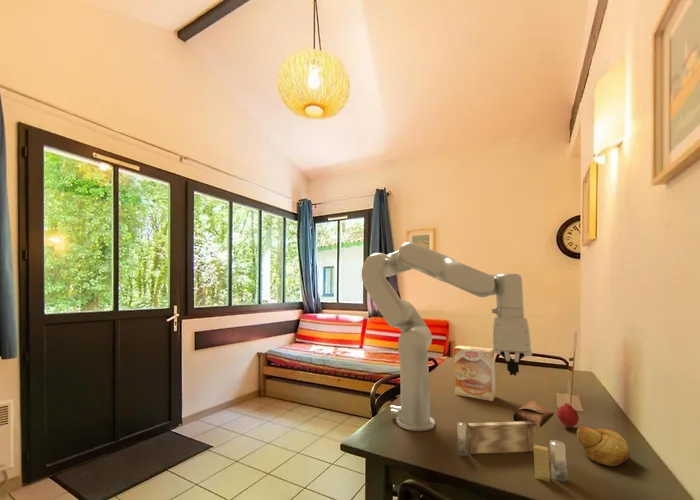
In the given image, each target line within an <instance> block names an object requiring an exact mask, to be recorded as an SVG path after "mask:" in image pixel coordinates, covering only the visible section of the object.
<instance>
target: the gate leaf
mask: <svg viewBox="0 0 700 500" xmlns="http://www.w3.org/2000/svg"><path fill="white" fill-rule="evenodd" d="M466 430H467V452H469V453H470V454H472V455H474V454H476V455H477V454H481V453H508V452H534V445H535V442H534V441H535V440H534V439H535V438H534V426H533V424H532V423H531V422H529V421H519V422H515V421H499V422H498V421H496V422H495V421H494V422H468V423H466Z"/></svg>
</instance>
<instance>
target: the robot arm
mask: <svg viewBox="0 0 700 500" xmlns="http://www.w3.org/2000/svg"><path fill="white" fill-rule="evenodd" d="M412 269H413V270H416V271H418V272H421V273H422V274H424V275H427V276H429V277H431V278H433V279H436V280H437V281H440V282H444V283H446V284H449V285H451V286H453V287H454V288H458V289H460V290H462V291H464V292H467V293H470V294H471V295H473V296H476V297H479V298H486V297H490V296H495V298H496V299H495V300H496V308H491V313H492V314H495V315H496V316H495V317H494V320H493V325H492V326H493V327H492V328H493V331H492V343H493V348H492V349H493V352H494V354H497V355H501V356H502V357H503V359H504V360H505V361H506V364H507V365H506V367H507V368H506V369H507V372H509V375H510V376H517V373H519V372H520V367H519V361H521V360H522V359H523V358H527V357H531V356H533V352H532V349H531V335H530V328H529V327H530V326H529V323H528V320H527V318H526V317H525V313H524V312H525V311H524V310H525V309H524V298H523V297H524V293H523V292H524V291H523V279H522V275H520V273H513V272H512V273H499V274H489V273H487V272H484V271H481V270H480V269H476V268H474V267H471V266H470V265H466V264H464V263H462V262H460V261H457V260H456V259H454V258H452V257H450V256H448V255H447V254H446V255H445V254H443V253H440V252H438V251H435V250H433V249H431V248H428V247H425V246H423V245H421V244H418V243H415V242H412V241H411V242H410V241H407V242H404V243H403V244H401V246H399V248H398V250H397V251H394V252H390V253H388V254H386V253H383V252H375V253H372V254H370V255H369V256H367V258H366V259H365V260H364V262H363V265H362V267H361V281H362V283H363V286H364V288H365V290H366V291H367V293H368V294H369V296H370V298H371V300H372V301H373V302H374V304H375V306H376V308H377V309H378V311H379V313H380V315H382V317H383V319H384V321H385V322H386V324H387V325H388V326H390V327H392V328H395V329H399V331H400V332H401V334H400V335H399V336H398V337H399V338H398V342H397V343H398V344H397V345H398V346H397V348H398V349H397V350H398V355H399V374H400V375H399V377H400V378H399V380H400V405H399V406H397V405H392V404H391V405H390V407H389V411H390V414H391V415H397V417H396V424H397V425H398V426H399V427H400V428H403V429H404V430H408V431H413V432H425V431H430V430H432V429H434V427H435V426H436V422H435V419H434V418H433V417H431V413H430V412H431V411H430V410H431V409H430V407H431V405H430V403H431V402H430V374H429V370H430V369H429V357H428V356H429V355H428V349H429V348H430V347H431V344H432V343H433V342H432V341H433V336H432V332H431V330H430V329H429V327H428V326H427V324H426V323H425V321H424V319H423V318H422V316H421V315H420V313H419V312H418V311H417V309H416V308H415V306H414V305H413V304H412V303H411V302H409V301H407V300H406V299H405V300H404V299H402V298H400V296H399V295H398V293H397V292H396V290H395V288H394V287H393V286H392V285H391V283H390V282H389V281H388V280H387V278H388V277H393V276H396V275H399V274H402V273H405V272H407V271H411V270H412ZM511 353H514V358H513V359H512V357H511Z"/></svg>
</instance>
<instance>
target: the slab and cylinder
mask: <svg viewBox="0 0 700 500" xmlns="http://www.w3.org/2000/svg"><path fill="white" fill-rule="evenodd" d="M566 454H567V453H566V444H565V443H564V442H563V441H560V440H557V439H551V440H549V447H548V446H542V445H538V444H534V451H533V461H534V464H533V465H534V479H537V480H541V481H544V482H548V483H550V481H551V478H552V479H553V480H555V481H557V482H560V483H566V482H568V472H567V471H568V469H567V468H568V467H567V456H566ZM549 457H550V458H549ZM549 460H550V461H549ZM550 472H551V473H550ZM550 474H551V475H550ZM550 476H551V478H550Z"/></svg>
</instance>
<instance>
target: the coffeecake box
mask: <svg viewBox="0 0 700 500" xmlns="http://www.w3.org/2000/svg"><path fill="white" fill-rule="evenodd" d="M493 349H494V348H488V347H487V348H485V347H478V346H467V345H457V346H454V348H453V358H454V359H453V361H454V367H453V368H454V394H455V395H457V396H462V397H468V398H473V399H479V400H483V401H491V402H493V401H494V399H495V398H496V397H497V396H496V395H497V394H496V393H497V392H496V391H497V390H496V371H495V353H494V352H493Z"/></svg>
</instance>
